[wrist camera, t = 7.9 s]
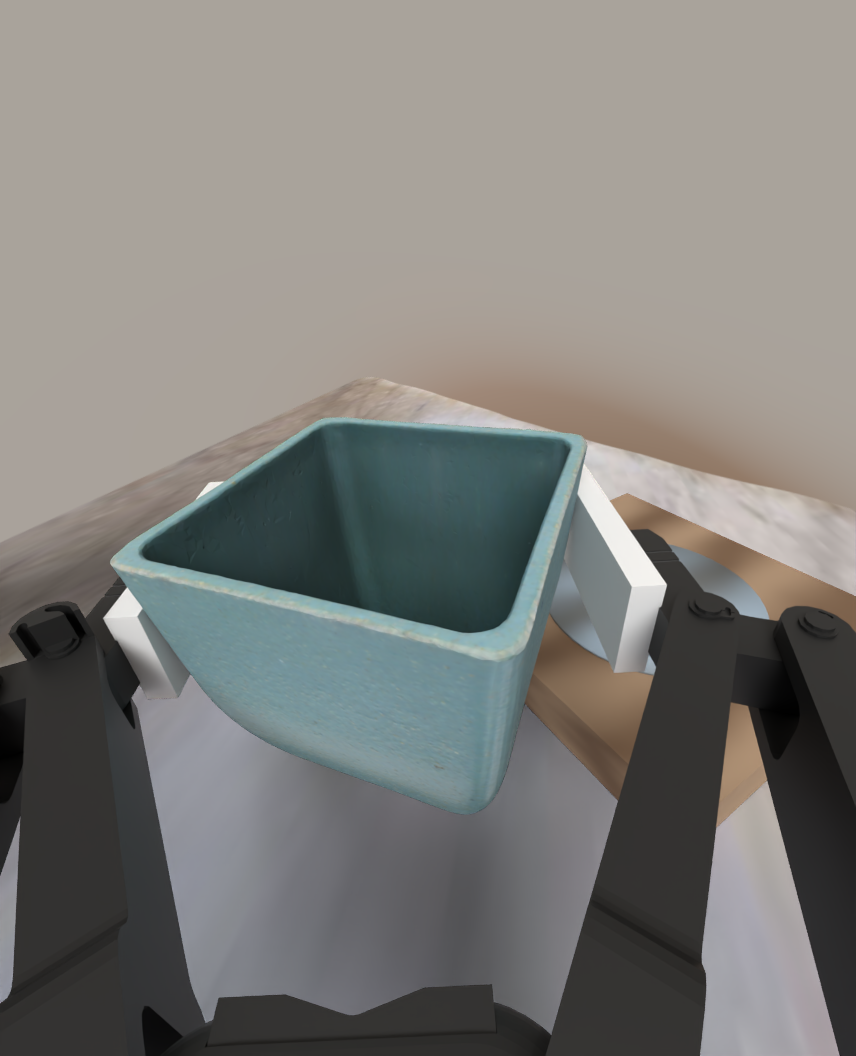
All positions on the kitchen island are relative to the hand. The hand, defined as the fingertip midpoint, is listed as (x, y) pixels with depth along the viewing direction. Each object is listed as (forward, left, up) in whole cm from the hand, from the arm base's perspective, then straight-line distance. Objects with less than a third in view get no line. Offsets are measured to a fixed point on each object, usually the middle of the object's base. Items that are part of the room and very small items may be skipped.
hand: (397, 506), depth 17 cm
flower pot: (+3, -2, -6) cm, 7 cm away
